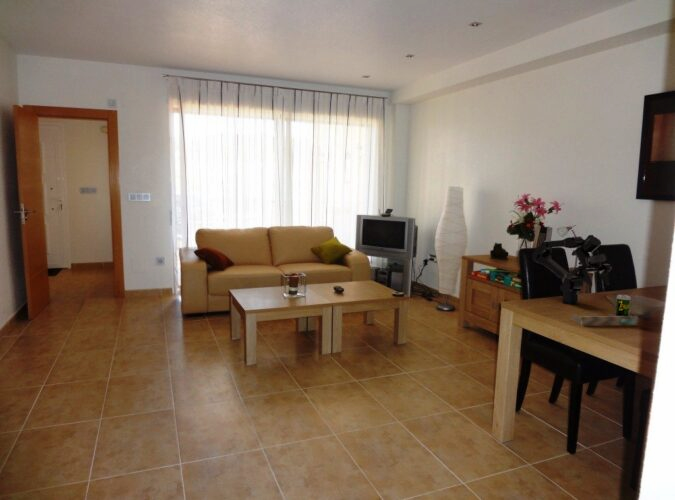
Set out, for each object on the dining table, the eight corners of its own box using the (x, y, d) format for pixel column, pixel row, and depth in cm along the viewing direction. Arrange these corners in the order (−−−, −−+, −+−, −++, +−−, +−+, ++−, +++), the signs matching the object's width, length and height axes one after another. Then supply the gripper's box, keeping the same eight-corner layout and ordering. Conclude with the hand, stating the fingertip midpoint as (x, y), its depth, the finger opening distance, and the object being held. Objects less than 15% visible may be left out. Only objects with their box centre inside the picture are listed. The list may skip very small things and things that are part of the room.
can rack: (581, 325, 200) (582, 316, 200) (571, 319, 209) (572, 311, 208) (637, 325, 200) (638, 316, 199) (625, 319, 209) (626, 310, 208)
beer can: (612, 319, 208) (614, 294, 206) (626, 320, 207) (628, 294, 205) (616, 323, 203) (619, 297, 201) (630, 324, 201) (632, 298, 200)
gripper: (577, 249, 217) (593, 276, 208) (611, 247, 221) (627, 274, 212) (564, 262, 226) (579, 289, 217) (597, 260, 230) (612, 287, 221)
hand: (600, 285), depth 216 cm, fingers open, 9 cm apart
